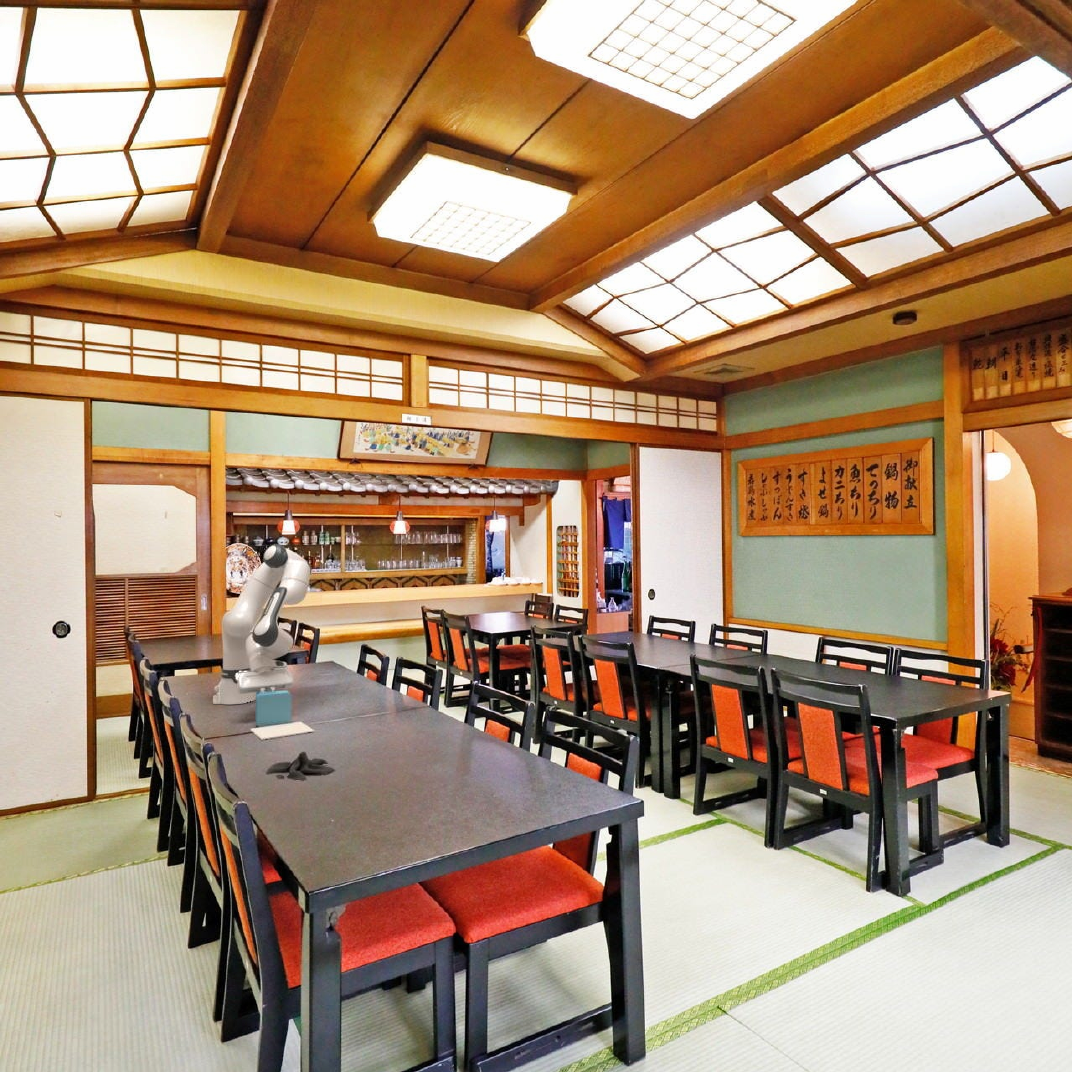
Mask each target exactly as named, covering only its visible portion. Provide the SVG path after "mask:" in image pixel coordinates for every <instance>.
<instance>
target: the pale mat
mask: <svg viewBox="0 0 1072 1072" xmlns="http://www.w3.org/2000/svg"><path fill="white" fill-rule="evenodd" d="M249 730H250V732H251V733H252V732H253V733H252V734H254V735H255V736H256V737H257V738H258V737H259V738H260V739H261V740H260V739H259V738H258V739H259V740H260V741H266V740H265V739H268V740H271V739H270V738H275V737H281V738H286V737H285V736H288V737H290V736H289V735H294V734H295V735H294V736H297V735H296V734H300V733H307V732H314V733H315V730H314V728H311V727H310V726H309V725H307V724H306V723H303V722H302V721H295V722H290V723H287V724H280V725H273V726H266V727H253V728H250V729H249ZM307 734H308V733H307ZM275 739H276V738H275Z"/></svg>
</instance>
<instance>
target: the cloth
mask: <svg viewBox="0 0 1072 1072" xmlns="http://www.w3.org/2000/svg"><path fill="white" fill-rule="evenodd" d="M323 764H329V763H328V760H325V759H323V758H318V757H317V758H315V757H314V758H312V759H310V758H309V757H308V755H307V752H306V751H302V752H300V753H299V754H298V756H297V758H295V759H294V760H293V761H292V762H290V761H283V762H276V763H274V764H273V765H271V766H270V767H269V768H268V769H267V771H266V773H265V774H266V775H272V774H277V775H276V776H275V777H276V778H277V780H280V779H283V780H284V779H285V777H284V776H285V775H284V776H283V774H287V775H288V774H289V775H288V776H286V778H287V779H288V780H292V779H293V780H292V781H296V780H301V781H300V782H305V781H307V780H308V778H307V777H306V775H316V774H319V775H318V776H321V775H324V776H326V774H327V775H329V774H331V772H332V773H334V772H335V771H336V769H334V768H333V767H331V766H327V765H323ZM321 765H322V766H321ZM333 771H334V772H333ZM306 779H307V780H306ZM304 780H305V781H304Z"/></svg>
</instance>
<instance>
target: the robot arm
mask: <svg viewBox="0 0 1072 1072" xmlns="http://www.w3.org/2000/svg"><path fill="white" fill-rule="evenodd" d="M262 560H263V563H261V564H260V565H259V566H258V568H257V569H256V570H255V571H254V573H253V574H252V576H251V577H250V578H249V580H248V581H247V583H246V585H245V586H244V588H243V589H242V590H241V592H240V595H239V596H238V598H237V600H236V603H234V606H233V608H232V609H230V610H228V611H227V612H225V613H224V614H223V616H222V619H221V636H222V638H221V639H222V641H221V642H222V669H221V679H220V681H219V682H218V684H217V685H215V686H214V692H215V693H216V694H214V695H213V696H212V704H213V705H240V704H247V702H248V703H250V701H251V702H254V701H256V695H257V693H262V692H273V691H279V690H285V689H286V690H287V689H292V687H293V685H294V676H293V675H292V672H291V670H290V669H289V668H288V663H287V662H286V661H281V660H277V659H278V658H281V657H284V656H285V655H288V653H290V652H291V651H292V649H293V646H294V638H293V636H292V635H291V634H289V633H288V632H287V631H286V630H284V629H283V628H282V627H281V626H279V624H278V619H279V617H280V614H281V611H282V609H283V607H284V605H285V606H287V605H288V606H289V605H290V606H293V605H297V604H300V603H302V602H303V601H304V600H305V598H306V595H307V594H308V589H309V584H310V579H311V574H312V571H313V567H312V565H311V564H310V562H309V561H308V560H306V559H305V558H303V557H302V556H301V555H300V554H298V553H296V552H294V551H292V550H291V549H290V548H286V547H285V546H284V545H281V544H279V543H273V544H272V545H270V546H269V547H267V549H265V551H264V553H263V559H262ZM279 583H280V584H279ZM278 584H279V585H278ZM277 586H278V587H277ZM264 606H265V608H264ZM263 608H264V610H263ZM262 611H263V612H262ZM261 613H262V614H261ZM260 615H261V616H260ZM259 617H260V618H259ZM258 619H259V620H258ZM256 622H257V623H256ZM251 632H252V633H251ZM250 633H251V634H250Z"/></svg>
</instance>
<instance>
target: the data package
mask: <svg viewBox="0 0 1072 1072" xmlns="http://www.w3.org/2000/svg"><path fill="white" fill-rule="evenodd" d="M287 723H292V694H291V693H290V692H289V690H287V689H286V690H285V689H283V690H274V691H273V692H270V691H264V692H262V693H260V692H257V693H256V700H255V724H256V726H257V728H259V727H266V726H273V725H280V724H287Z"/></svg>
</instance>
